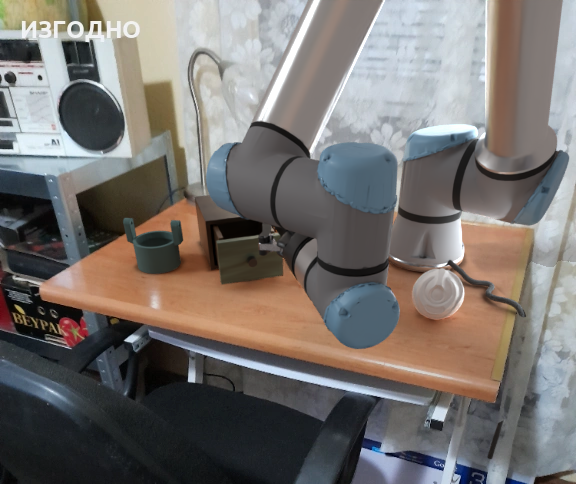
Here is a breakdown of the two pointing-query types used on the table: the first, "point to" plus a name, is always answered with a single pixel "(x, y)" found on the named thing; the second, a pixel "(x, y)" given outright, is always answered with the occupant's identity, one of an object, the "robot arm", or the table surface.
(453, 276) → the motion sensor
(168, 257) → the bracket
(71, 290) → the table surface
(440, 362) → the table surface
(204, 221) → the case
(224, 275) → the case drawer
